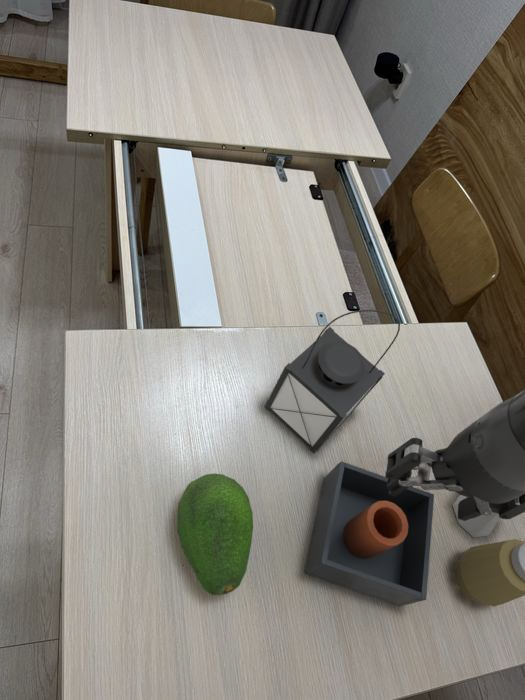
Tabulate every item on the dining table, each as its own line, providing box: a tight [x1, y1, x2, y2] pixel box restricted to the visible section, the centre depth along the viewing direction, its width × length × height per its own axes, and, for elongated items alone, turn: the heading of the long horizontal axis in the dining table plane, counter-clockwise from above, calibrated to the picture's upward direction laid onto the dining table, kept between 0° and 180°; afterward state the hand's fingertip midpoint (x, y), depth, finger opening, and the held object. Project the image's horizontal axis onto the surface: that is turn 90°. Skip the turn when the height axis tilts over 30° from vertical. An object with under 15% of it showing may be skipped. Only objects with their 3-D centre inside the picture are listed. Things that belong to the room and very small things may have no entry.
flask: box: [452, 494, 501, 538], centre depth 77 cm, size 7×7×10 cm
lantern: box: [264, 309, 401, 454], centre depth 74 cm, size 11×11×28 cm
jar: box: [343, 501, 408, 559], centre depth 71 cm, size 6×6×9 cm
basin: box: [303, 460, 435, 607], centre depth 72 cm, size 14×14×8 cm
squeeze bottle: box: [454, 538, 525, 607], centre depth 68 cm, size 8×8×18 cm
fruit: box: [176, 473, 254, 596], centre depth 66 cm, size 15×10×10 cm, turn 6°
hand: (426, 499), depth 59 cm, fingers open, 8 cm apart
